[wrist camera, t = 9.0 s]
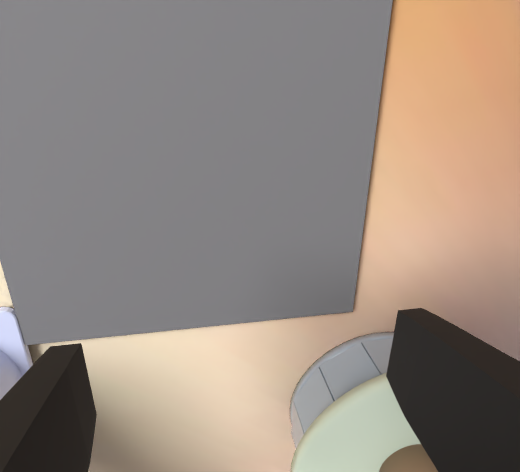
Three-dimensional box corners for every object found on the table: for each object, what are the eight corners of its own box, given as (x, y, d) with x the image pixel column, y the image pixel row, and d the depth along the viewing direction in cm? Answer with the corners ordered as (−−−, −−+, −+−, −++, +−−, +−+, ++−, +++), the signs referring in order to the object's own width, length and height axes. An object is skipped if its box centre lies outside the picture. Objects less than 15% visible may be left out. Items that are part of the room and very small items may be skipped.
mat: (28, 338, 19) (24, 345, 19) (-90, -80, 12) (-100, -85, 12) (349, 306, 22) (352, 311, 21) (393, -52, 15) (399, -55, 15)
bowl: (286, 465, 26) (303, 530, 23) (293, 342, 22) (315, 398, 19) (426, 442, 28) (463, 499, 24) (458, 323, 24) (507, 372, 20)
